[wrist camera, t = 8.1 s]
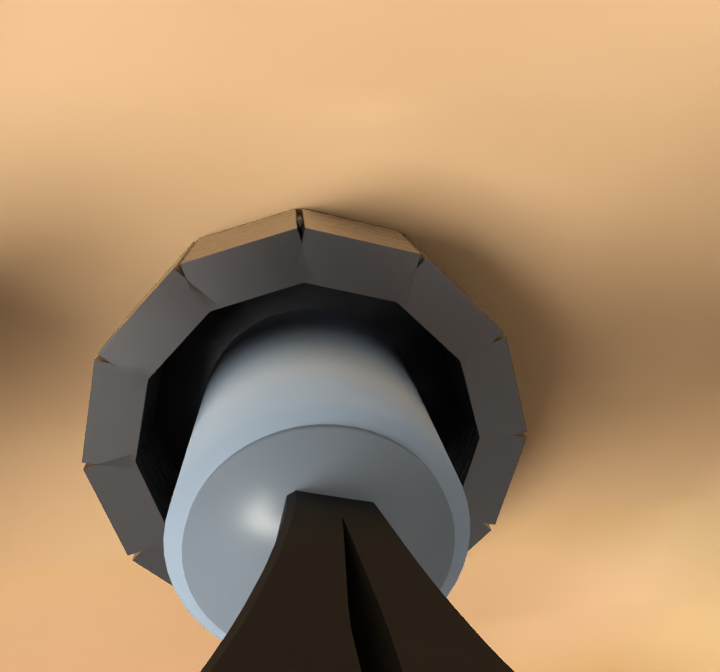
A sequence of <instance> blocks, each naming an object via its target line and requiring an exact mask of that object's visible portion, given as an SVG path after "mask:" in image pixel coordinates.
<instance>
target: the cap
mask: <svg viewBox="0 0 720 672" xmlns="http://www.w3.org/2000/svg"><path fill="white" fill-rule="evenodd" d="M295 490H297V491H302V492H308V493H315V494H322V495H328V496H335V497H341V498H348V499H355V500H363V501H369V502H374V503H375V505H376V506H377V507H378V509H379V510H380V511H381V513H382V514H383V515H384V517H385V518H386V520H387V521H388V522H389V524H390V525H391V527H392V528H393V529H394V531H395V532H396V533H397V535H398V536H399V538H400V539H401V540H402V542H403V543H404V544H405V546H406V547H407V548H408V550H409V551H410V552H411V554H412V555H413V556H414V558H415V559H416V560H417V562H418V563H419V564H420V566H421V567H422V568H423V570H424V571H425V572H426V573H427V575H428V576H429V577H430V579H431V580H432V581H433V582H434V583H435V585H436V586H437V587H438V588H439V590H440V591H441V592H442V593H443V595H444V596H445V597H447V596H448V594H449V592H450V591H451V589H452V588H453V586H454V584H455V583H456V581H457V579H458V577H459V574H460V572H461V570H462V568H463V565H464V562H465V558H466V555H467V552H468V546H469V539H470V515H469V509H468V503H467V499H466V496H465V493H464V490H463V487H462V484H461V482H460V480H459V478H458V476H457V474H456V472H455V470H454V467H453V465H452V463H451V461H450V459H449V457H448V455H447V453H446V450H445V448H444V446H443V444H442V442H441V440H440V438H439V436H438V434H437V431H436V429H435V427H434V425H433V423H432V421H431V419H430V417H429V414H428V412H427V410H426V408H425V406H424V404H423V402H422V400H421V398H420V395H419V393H418V391H417V389H416V387H415V385H414V383H413V381H412V379H411V376H410V374H409V372H408V370H407V368H406V366H405V364H404V362H403V360H402V358H401V356H400V355H399V353H398V352H397V350H396V349H395V348H394V346H393V345H392V344H391V343H390V342H389V341H388V340H387V339H386V337H385V336H383V335H382V334H381V333H380V332H379V331H377V330H376V329H375V328H373V327H372V326H370V325H369V324H367V323H365V322H364V321H362V320H360V319H357V318H355V317H353V316H350V315H347V314H344V313H341V312H337V311H332V310H325V309H297V310H291V311H286V312H282V313H278V314H275V315H272V316H270V317H267V318H265V319H263V320H261V321H259V322H257V323H255V324H253V325H252V326H250V327H249V328H247V329H246V330H244V331H243V332H241V333H240V334H239V335H238V336H237V337H236V338H235V339H234V340H233V341H231V343H230V344H229V345H228V346H227V347H226V348H225V350H224V351H223V352H222V354H221V355H220V357H219V358H218V360H217V362H216V363H215V365H214V367H213V370H212V372H211V374H210V377H209V380H208V383H207V387H206V390H205V393H204V396H203V400H202V403H201V406H200V409H199V412H198V416H197V419H196V422H195V425H194V429H193V432H192V435H191V438H190V442H189V445H188V448H187V451H186V454H185V458H184V461H183V464H182V467H181V471H180V474H179V477H178V480H177V484H176V487H175V490H174V493H173V496H172V500H171V503H170V506H169V510H168V513H167V517H166V521H165V529H164V537H163V539H164V557H165V562H166V567H167V571H168V574H169V577H170V580H171V582H172V585H173V588H174V589H175V591H176V593H177V595H178V597H179V598H180V600H181V602H182V603H183V605H184V606H185V607H186V608H187V610H188V611H189V612H190V614H191V615H192V616H193V617H194V618H195V619H196V620H197V621H198V622H199V623H200V624H201V625H202V626H203V627H204V628H205V629H207V630H208V631H209V632H211V633H212V634H213V635H215V636H216V637H218V638H219V639H221V640H223V639H224V637H225V636H226V634H227V633H228V631H229V629H230V628H231V626H232V625H233V623H234V622H235V620H236V618H237V617H238V615H239V613H240V612H241V610H242V608H243V607H244V605H245V603H246V601H247V599H248V597H249V596H250V594H251V592H252V590H253V588H254V586H255V585H256V583H257V581H258V579H259V577H260V575H261V574H262V572H263V570H264V568H265V565H266V563H267V561H268V559H269V556H270V554H271V552H272V549H273V547H274V545H275V542H276V538H277V534H278V530H279V526H280V521H281V517H282V513H283V509H284V505H285V501H286V496H287V495H289V494H290V493H292V492H294V491H295Z"/></svg>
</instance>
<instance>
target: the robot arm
mask: <svg viewBox="0 0 720 672" xmlns="http://www.w3.org/2000/svg"><path fill="white" fill-rule="evenodd" d="M201 672H514V671H513V670H512V669H511V668H510V667H509V666H508V665H507V664H506V663H505V662H504V661H503V660H502V659H501V658H500V657H499V656H498V655H497V654H496V653H495V652H494V651H493V650H492V649H491V648H490V647H489V646H488V645H487V644H486V643H485V641H484V640H483V639H482V638H481V637H480V636H479V635H478V634H477V633H476V631H475V630H474V629H473V628H472V627H471V626H470V625H469V624H468V622H467V621H466V620H465V619H464V618H463V617H462V616H461V615H460V613H459V612H458V611H457V610H456V609H455V608H454V607H453V605H452V604H451V603H450V602H449V601H448V599H447V598H446V597H445V596H444V595H443V593H442V592H441V591H440V590H439V588H438V587H437V586H436V585H435V583H434V582H433V581H432V580H431V579H430V577H429V576H428V575H427V573H426V572H425V571H424V570H423V568H422V567H421V566H420V564H419V563H418V562H417V560H416V559H415V558H414V556H413V555H412V554H411V552H410V551H409V550H408V548H407V547H406V546H405V544H404V543H403V542H402V540H401V539H400V538H399V536H398V535H397V533H396V532H395V531H394V529H393V528H392V527H391V525H390V524H389V522H388V521H387V520H386V518H385V517H384V515H383V514H382V513H381V511H380V510H379V509H378V507H377V506H376V505H375V503H374V502H369V501H363V500H355V499H348V498H341V497H335V496H328V495H322V494H315V493H308V492H302V491H297V490H295V491H294V492H292V493H290V494H289V495H287V496H286V501H285V505H284V509H283V513H282V517H281V521H280V526H279V530H278V534H277V538H276V542H275V545H274V547H273V549H272V552H271V554H270V556H269V559H268V561H267V563H266V565H265V568H264V570H263V572H262V574H261V575H260V577H259V579H258V581H257V583H256V585H255V586H254V588H253V590H252V592H251V594H250V596H249V597H248V599H247V601H246V603H245V605H244V607H243V608H242V610H241V612H240V613H239V615H238V617H237V618H236V620H235V622H234V623H233V625H232V626H231V628H230V629H229V631H228V633H227V634H226V636H225V637H224V639H223V640H222V642H221V643H220V645H219V646H218V648H217V649H216V651H215V652H214V653H213V655H212V656H211V658H210V659H209V661H208V662H207V664H206V665H205V666H204V668H203V669H202V670H201Z"/></svg>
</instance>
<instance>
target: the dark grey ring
mask: <svg viewBox="0 0 720 672" xmlns="http://www.w3.org/2000/svg"><path fill="white" fill-rule="evenodd" d="M297 309H325V310H332V311H337V312H341V313H344V314H347V315H350V316H353V317H355V318H357V319H360V320H362V321H364V322H365V323H367V324H369V325H370V326H372V327H373V328H375V329H376V330H377V331H379V332H380V333H381V334H382V335H383V336H385V337H386V339H387V340H388V341H389V342H390V343H391V344H392V345H393V346H394V348H395V349H396V350H397V352H398V353H399V355H400V356H401V358H402V360H403V362H404V364H405V366H406V368H407V370H408V372H409V374H410V376H411V379H412V381H413V383H414V385H415V387H416V389H417V391H418V393H419V395H420V398H421V400H422V402H423V404H424V406H425V408H426V410H427V412H428V414H429V417H430V419H431V421H432V423H433V425H434V427H435V429H436V431H437V434H438V436H439V438H440V440H441V442H442V444H443V446H444V448H445V450H446V453H447V455H448V457H449V459H450V461H451V463H452V465H453V467H454V470H455V472H456V474H457V476H458V478H459V480H460V482H461V484H462V487H463V490H464V493H465V496H466V499H467V503H468V509H469V515H470V539H469V546H468V551H469V550H470V549H471V548H472V547H473V546H474V545H475V544H476V543H477V542H479V541H480V540H481V539H482V538H483V537H484V536H485V535H486V534H487V533H488V532H490V531H491V528H490V526H489V524H494V525H495V523H496V520H497V518H498V515H499V512H500V509H501V507H502V504H503V501H504V498H505V496H506V493H507V490H508V487H509V484H510V482H511V479H512V476H513V473H514V471H515V468H516V465H517V462H518V460H519V457H520V454H521V451H522V449H523V446H524V443H525V440H526V437H525V435H524V434H523V432H526V431H527V430H526V425H525V421H524V416H523V411H522V407H521V402H520V398H519V393H518V388H517V384H516V379H515V375H514V370H513V365H512V361H511V356H510V352H509V347H508V342H507V338H506V337H505V336H504V335H503V334H502V333H503V331H502V330H501V329H500V328H499V327H498V326H497V325H496V324H495V323H494V322H493V321H492V320H491V319H490V318H489V317H488V316H487V315H486V314H485V313H484V312H483V311H482V310H481V309H480V308H479V307H478V306H477V305H476V304H475V303H474V302H473V301H472V300H471V299H470V298H469V297H468V296H467V295H465V294H464V293H463V292H462V291H461V290H460V289H459V288H458V287H457V286H456V285H455V284H454V283H453V282H452V281H451V280H450V279H449V278H448V277H447V276H446V275H445V274H444V273H443V272H442V271H441V270H440V269H439V268H438V267H437V266H436V265H435V264H434V263H433V262H432V261H431V260H430V259H429V258H428V257H427V256H426V255H425V254H424V253H422V252H421V251H420V250H419V249H418V248H417V247H416V246H415V245H414V244H413V243H412V242H411V241H410V240H409V239H408V238H407V237H406V236H405V235H404V234H403V235H401V234H400V233H399V232H398V231H397V230H392V229H388V228H384V227H379V226H375V225H371V224H367V223H362V222H358V221H354V220H349V219H345V218H341V217H337V216H332V215H328V214H324V213H320V212H315V211H311V210H307V209H302V212H301V215H297V212H296V209H293V210H290V211H286V212H283V213H280V214H277V215H273V216H270V217H267V218H264V219H260V220H257V221H254V222H251V223H247V224H244V225H241V226H238V227H234V228H231V229H228V230H225V231H221V232H218V233H215V234H212V235H208V236H205V237H202V238H199V240H198V241H197V242H196V243H195V242H193V243H192V244H191V246H190V247H189V248H188V249H187V250H186V251H185V252H184V253H183V255H182V256H181V257H180V258H179V259H178V260H177V261H176V263H175V264H174V265H173V266H172V267H171V268H170V269H169V270H168V272H167V273H166V274H165V275H164V276H163V277H162V278H161V279H160V281H159V282H158V283H157V284H156V285H155V286H154V287H153V289H152V290H151V291H150V292H149V293H148V294H147V295H146V296H145V298H144V299H143V300H142V301H141V302H140V303H139V304H138V305H137V307H136V308H135V309H134V310H133V311H132V312H131V313H130V315H129V316H128V317H127V318H126V320H125V321H124V322H123V323H122V325H121V326H120V327H119V328H118V329H117V331H116V332H115V333H114V334H113V336H112V337H111V338H110V339H109V341H108V342H107V343H106V344H105V345H104V347H103V348H102V349H101V350H100V352H99V353H98V354H99V356H98V357H97V358H96V359H95V362H94V370H93V378H92V386H91V394H90V402H89V410H88V418H87V426H86V434H85V442H84V450H83V458H82V462H83V463H86V465H85V467H84V469H83V470H84V472H85V473H86V475H87V477H88V479H89V481H90V483H91V485H92V487H93V489H94V491H95V493H96V495H97V497H98V499H99V501H100V502H101V504H102V506H103V508H104V510H105V512H106V514H107V516H108V518H109V520H110V522H111V524H112V526H113V528H114V530H115V532H116V533H117V535H118V537H119V539H120V541H121V543H122V545H123V547H124V549H125V551H126V553H127V555H131V554H134V553H135V554H134V557H133V561H134V562H136V563H138V564H139V565H141V566H142V567H144V568H145V569H147V570H149V571H150V572H152V573H153V574H155V575H157V576H158V577H160V578H161V579H163V580H164V581H166V582H168V583H169V584H171V585H172V582H171V580H170V577H169V574H168V571H167V567H166V562H165V557H164V539H163V537H164V529H165V521H166V517H167V513H168V510H169V506H170V503H171V500H172V496H173V493H174V490H175V487H176V484H177V480H178V477H179V474H180V471H181V467H182V464H183V461H184V458H185V454H186V451H187V448H188V445H189V442H190V438H191V435H192V432H193V429H194V425H195V422H196V419H197V416H198V412H199V409H200V406H201V403H202V400H203V396H204V393H205V390H206V387H207V383H208V380H209V377H210V374H211V372H212V370H213V367H214V365H215V363H216V362H217V360H218V358H219V357H220V355H221V354H222V352H223V351H224V350H225V348H226V347H227V346H228V345H229V344H230V343H231V341H233V340H234V339H235V338H236V337H237V336H238V335H239V334H240V333H241V332H243V331H244V330H246V329H247V328H249V327H250V326H252V325H253V324H255V323H257V322H259V321H261V320H263V319H265V318H267V317H270V316H272V315H275V314H278V313H282V312H286V311H291V310H297ZM172 586H173V585H172Z"/></svg>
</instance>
